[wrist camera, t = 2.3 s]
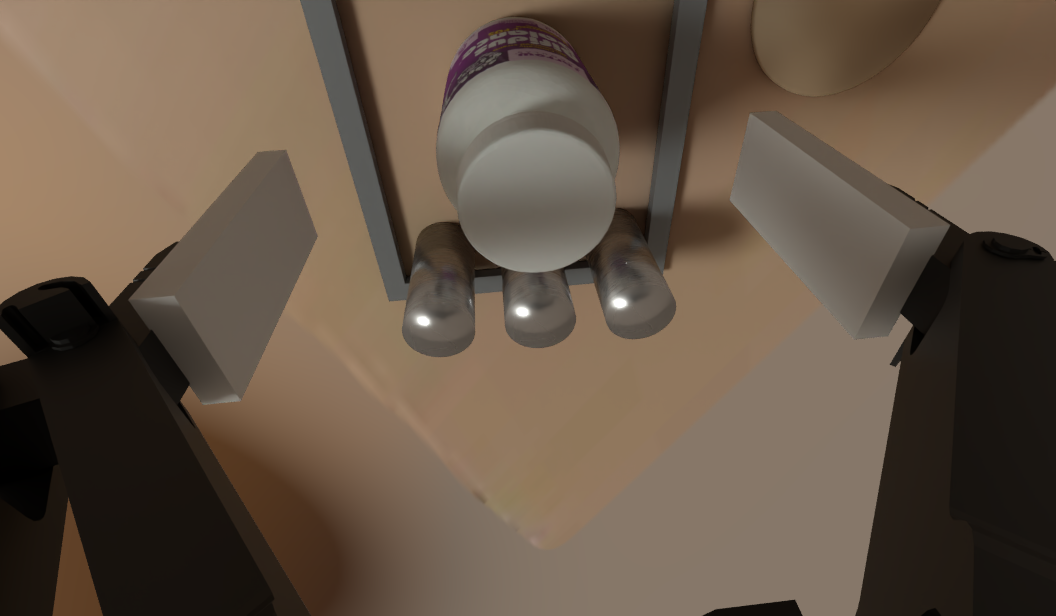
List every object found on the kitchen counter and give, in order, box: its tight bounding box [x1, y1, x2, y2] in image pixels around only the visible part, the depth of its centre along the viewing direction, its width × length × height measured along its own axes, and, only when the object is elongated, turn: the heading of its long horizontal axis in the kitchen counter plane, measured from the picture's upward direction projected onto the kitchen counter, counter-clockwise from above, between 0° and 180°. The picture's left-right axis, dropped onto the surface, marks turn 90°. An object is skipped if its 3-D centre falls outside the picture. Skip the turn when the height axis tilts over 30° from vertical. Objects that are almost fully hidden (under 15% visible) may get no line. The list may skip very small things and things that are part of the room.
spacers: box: [402, 208, 676, 357], centre depth 17 cm, size 17×11×6 cm, turn 3°
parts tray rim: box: [300, 0, 707, 301], centre depth 19 cm, size 19×14×1 cm
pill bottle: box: [436, 17, 620, 273], centre depth 16 cm, size 5×5×10 cm
